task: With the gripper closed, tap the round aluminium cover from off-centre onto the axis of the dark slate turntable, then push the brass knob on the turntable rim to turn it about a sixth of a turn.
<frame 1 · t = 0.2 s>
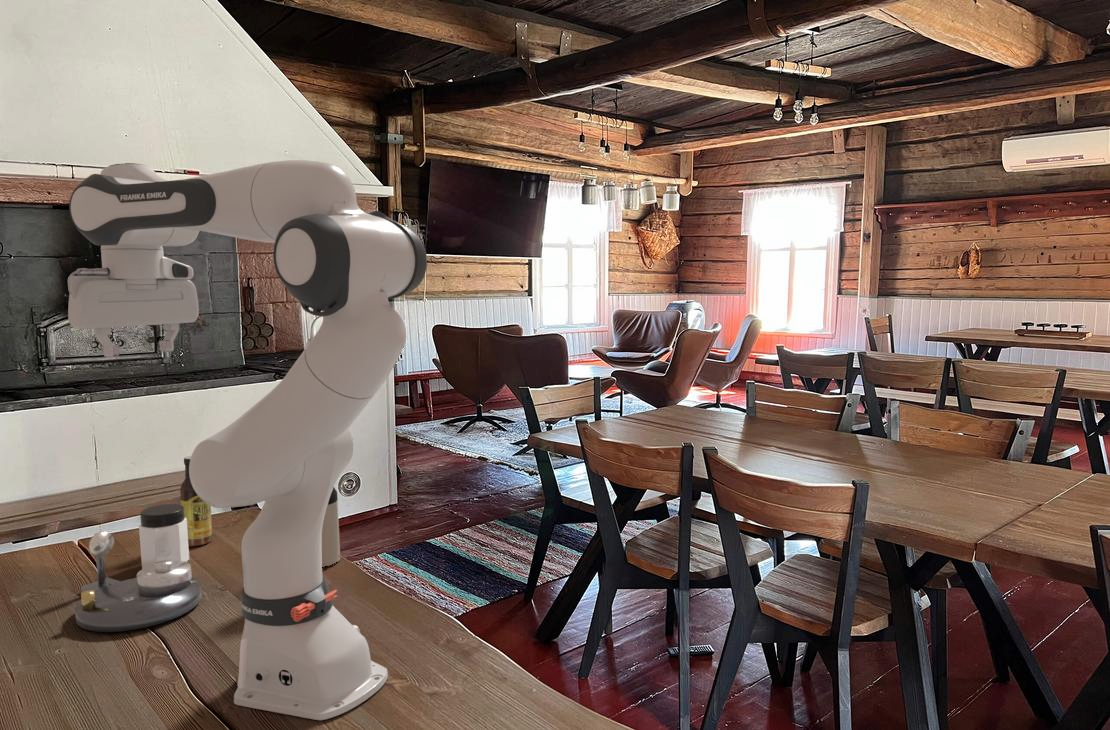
hand: (140, 353, 124), 47 cm above the table, tool pointing down, fingers open, 8 cm apart
turntable: (139, 593, 138), point 3 cm above the table, hinge at 0.0°, touching cover
sauce bottle: (198, 543, 173), on the table
jar: (166, 565, 159), on the table
cover: (165, 585, 142), point 3 cm above the table, touching turntable
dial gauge: (102, 590, 147), on the table
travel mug: (320, 562, 160), on the table
pepper mill: (296, 594, 144), on the table
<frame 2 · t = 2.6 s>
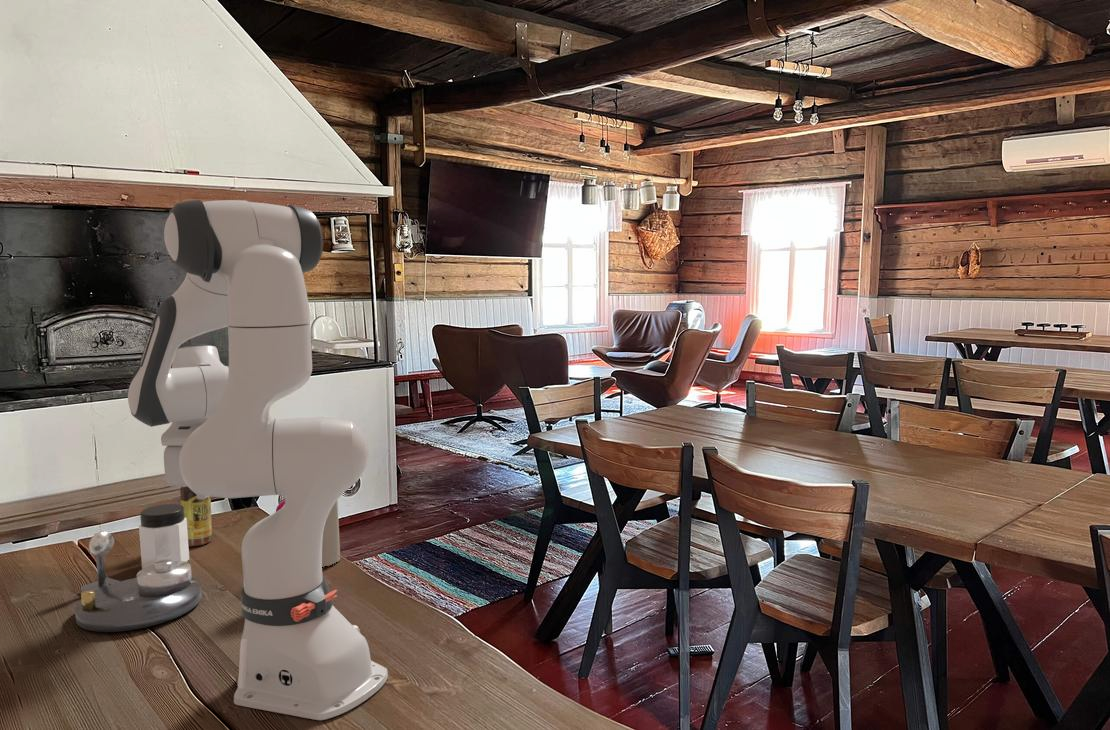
hand: (205, 497, 149), 17 cm above the table, tool pointing down, fingers closed
nothing on the table moved.
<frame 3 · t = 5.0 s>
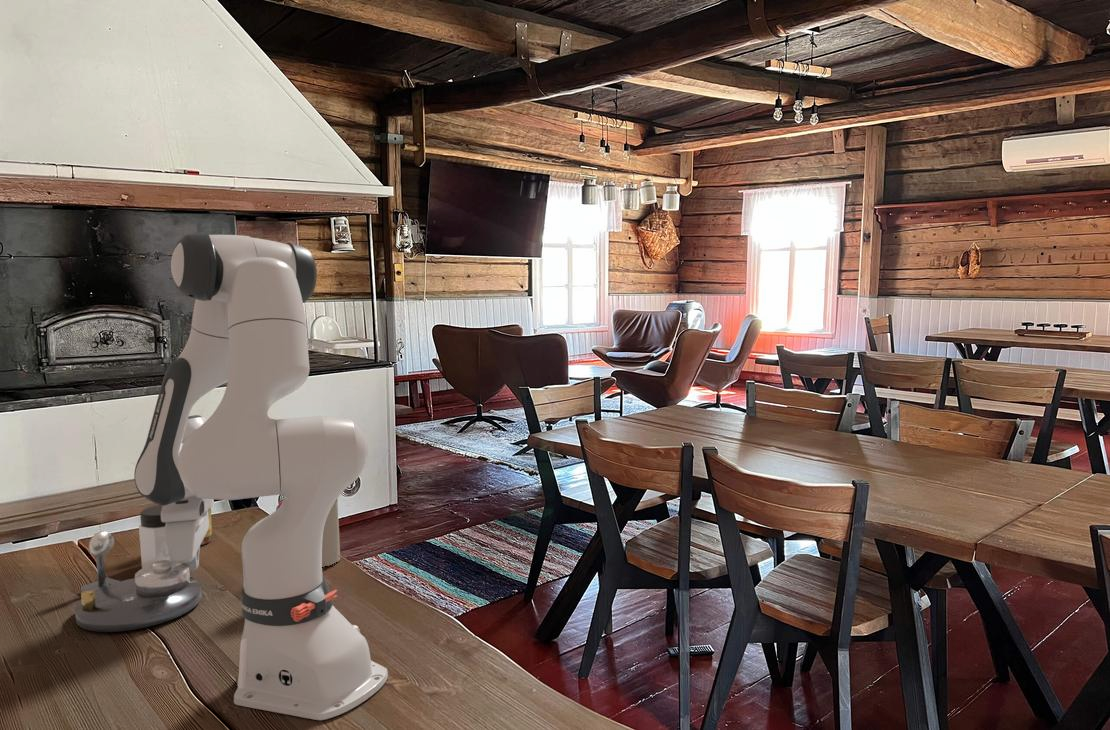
hand: (193, 569, 147), 4 cm above the table, tool pointing down, fingers closed
turntable: (139, 593, 138), point 3 cm above the table, hinge at 0.0°
cover: (163, 586, 142), point 3 cm above the table, touching gripper
everything else where it was.
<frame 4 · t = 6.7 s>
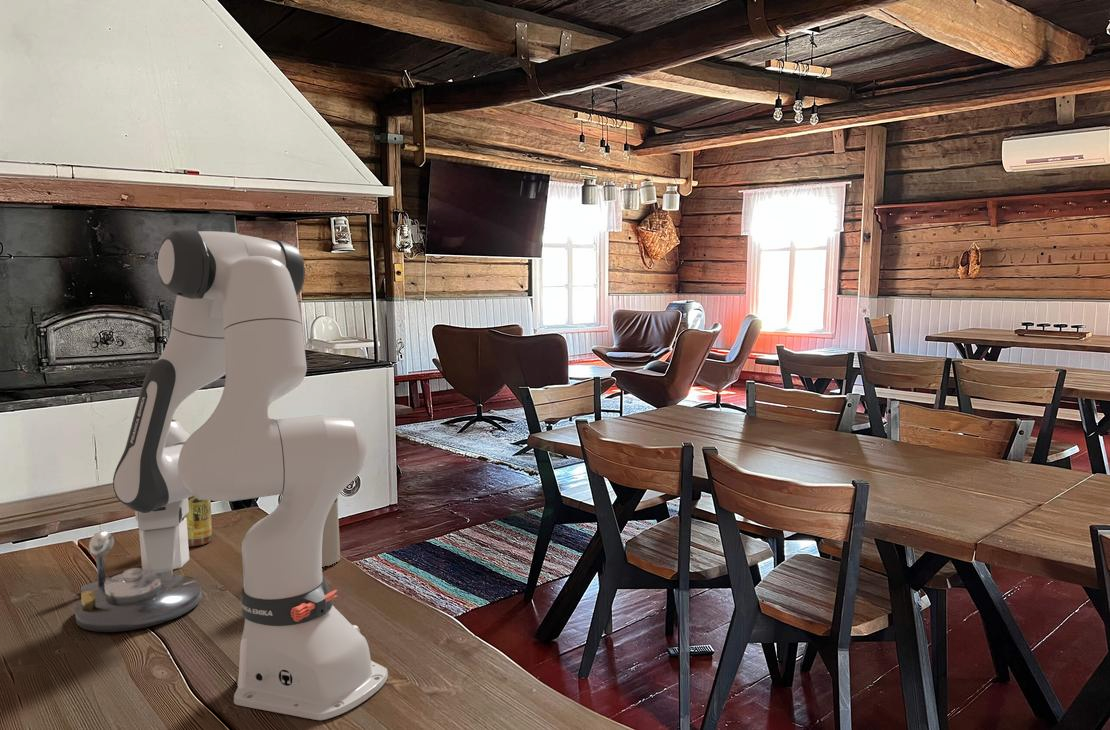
hand: (167, 578, 142), 4 cm above the table, tool pointing down, fingers closed
turntable: (139, 593, 138), point 3 cm above the table, hinge at 0.1°, touching cover
cover: (134, 594, 138), point 3 cm above the table, touching gripper, turntable
everything else where it was.
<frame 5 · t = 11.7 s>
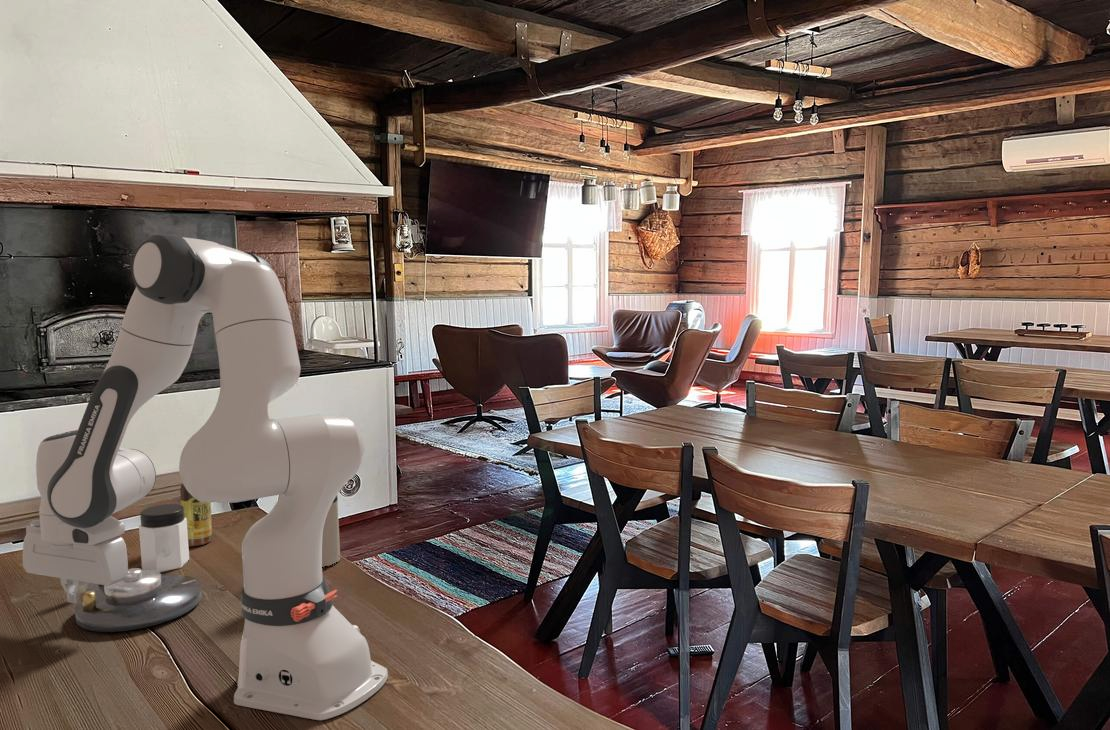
hand: (76, 601, 132), 4 cm above the table, tool pointing down, fingers closed
turntable: (139, 593, 138), point 3 cm above the table, hinge at 3.1°, touching cover, gripper
cover: (134, 595, 138), point 3 cm above the table, touching turntable
everything else where it was.
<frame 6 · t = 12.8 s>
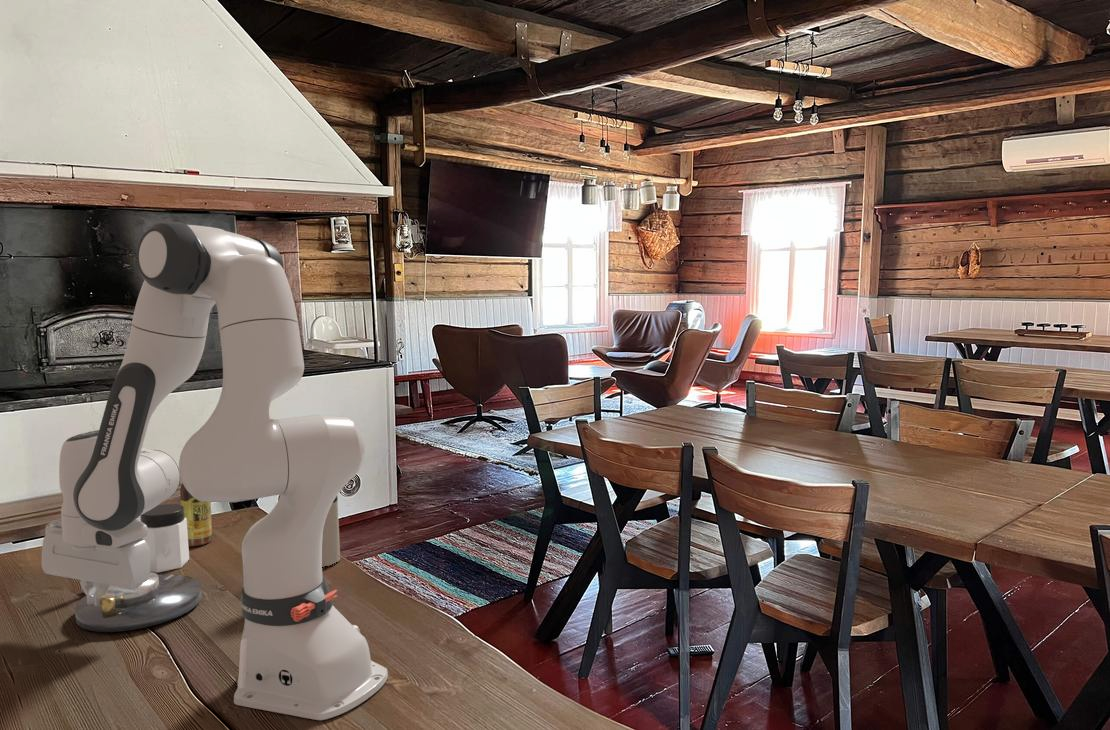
hand: (96, 604, 130), 5 cm above the table, tool pointing down, fingers closed
turntable: (139, 593, 138), point 3 cm above the table, hinge at 41.6°, touching cover, gripper
everything else where it was.
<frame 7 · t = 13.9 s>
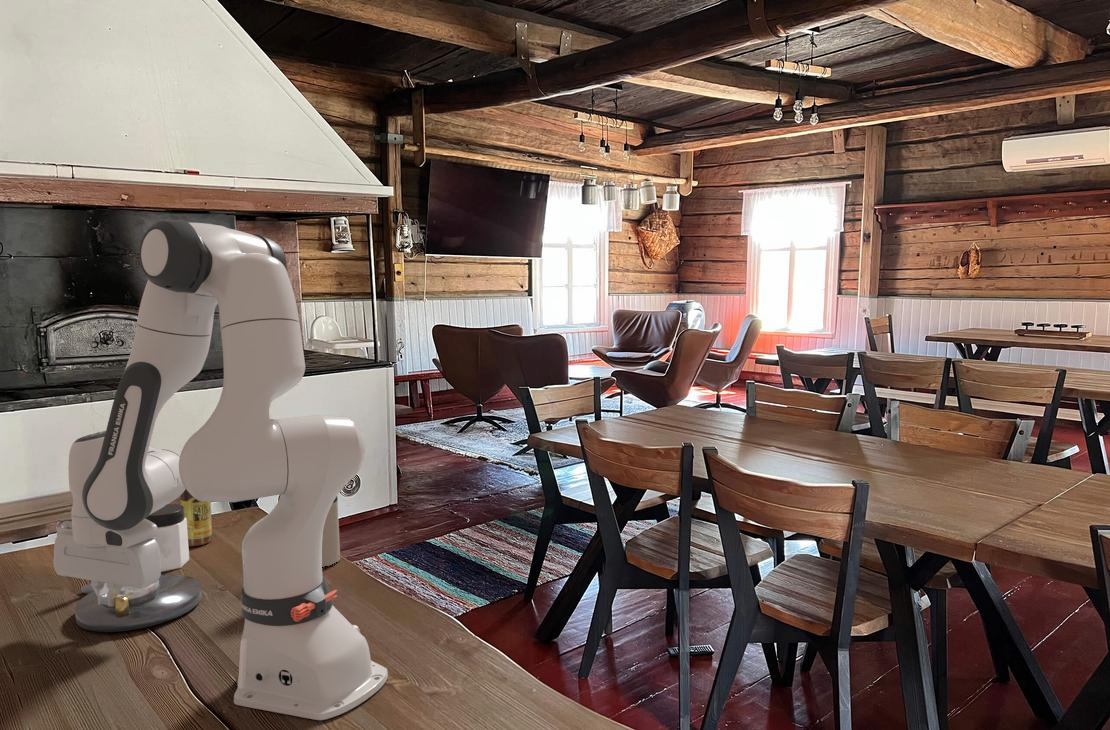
hand: (108, 604, 130), 4 cm above the table, tool pointing down, fingers closed
turntable: (139, 593, 138), point 3 cm above the table, hinge at 57.9°, touching cover, gripper
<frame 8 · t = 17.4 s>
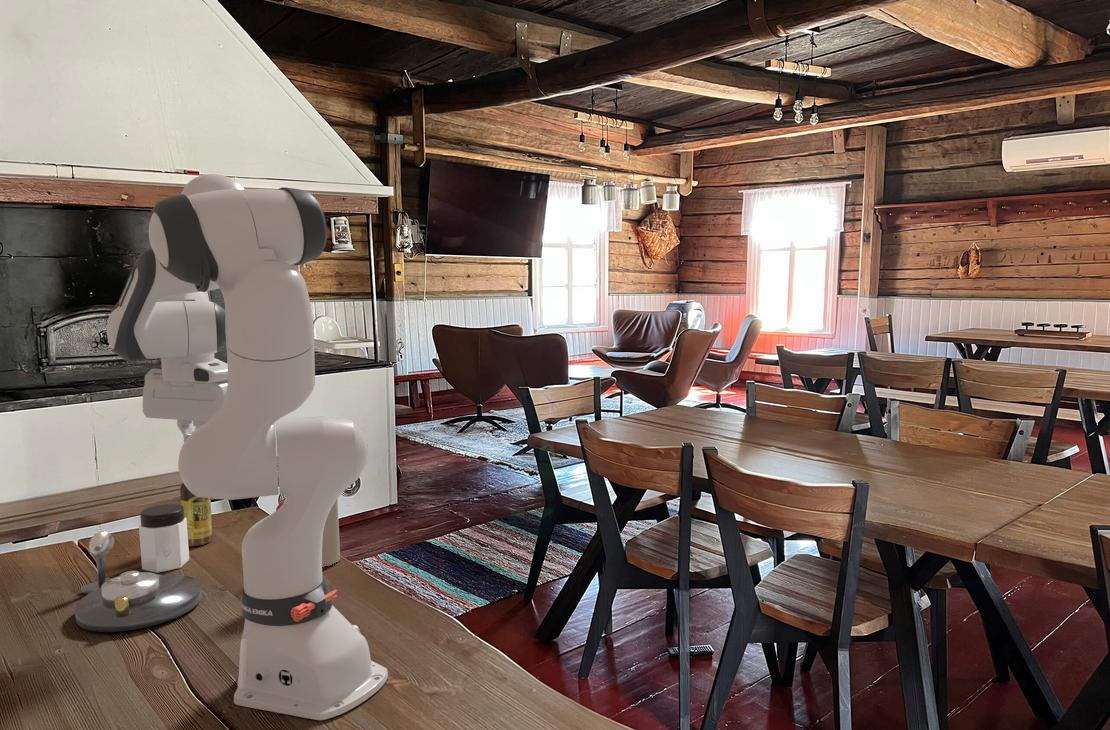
hand: (193, 443, 141), 29 cm above the table, tool pointing down, fingers closed
turntable: (139, 593, 138), point 3 cm above the table, hinge at 57.9°, touching cover
at the end: cover 1.3 cm from the turntable (horizontally); turntable at +58° (first picture: +0°); cover touching turntable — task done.
